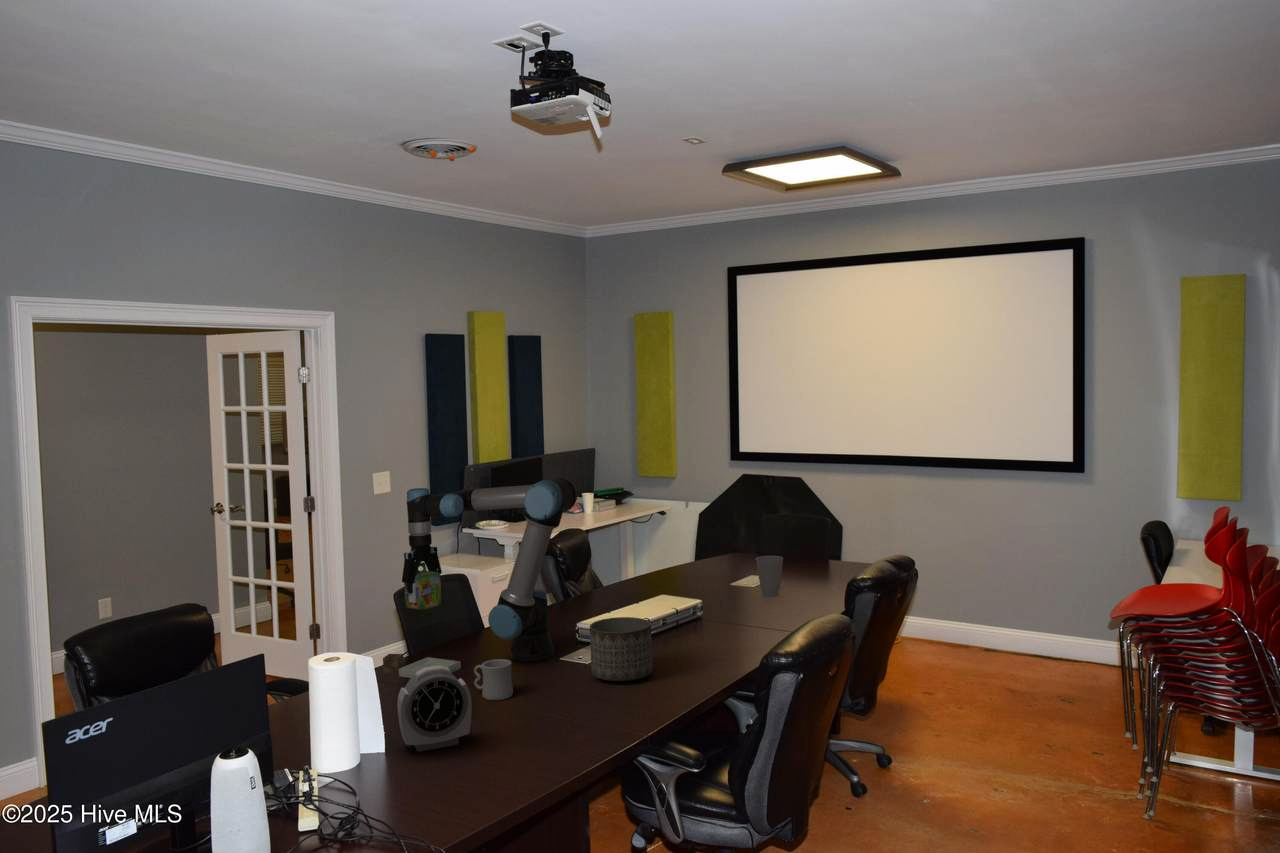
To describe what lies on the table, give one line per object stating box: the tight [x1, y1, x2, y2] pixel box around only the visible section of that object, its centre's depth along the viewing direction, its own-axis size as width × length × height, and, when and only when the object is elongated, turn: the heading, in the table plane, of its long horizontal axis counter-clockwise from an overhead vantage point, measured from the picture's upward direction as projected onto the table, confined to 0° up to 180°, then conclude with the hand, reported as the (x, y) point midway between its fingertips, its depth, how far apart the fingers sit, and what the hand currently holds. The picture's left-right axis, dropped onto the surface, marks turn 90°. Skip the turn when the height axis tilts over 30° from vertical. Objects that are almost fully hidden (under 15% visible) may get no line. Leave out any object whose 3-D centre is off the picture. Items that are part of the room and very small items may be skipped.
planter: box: [589, 616, 654, 683], centre depth 289 cm, size 19×19×16 cm
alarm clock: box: [396, 665, 472, 753], centre depth 238 cm, size 18×8×20 cm, turn 114°
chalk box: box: [403, 562, 443, 611], centre depth 314 cm, size 9×9×15 cm
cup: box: [755, 555, 784, 598], centre depth 396 cm, size 12×12×16 cm
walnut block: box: [382, 653, 405, 674], centre depth 305 cm, size 5×5×5 cm
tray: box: [398, 656, 462, 679], centre depth 301 cm, size 14×14×2 cm
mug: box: [473, 658, 514, 701], centre depth 275 cm, size 12×9×10 cm
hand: (423, 599), depth 314 cm, fingers closed on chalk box, 9 cm apart
